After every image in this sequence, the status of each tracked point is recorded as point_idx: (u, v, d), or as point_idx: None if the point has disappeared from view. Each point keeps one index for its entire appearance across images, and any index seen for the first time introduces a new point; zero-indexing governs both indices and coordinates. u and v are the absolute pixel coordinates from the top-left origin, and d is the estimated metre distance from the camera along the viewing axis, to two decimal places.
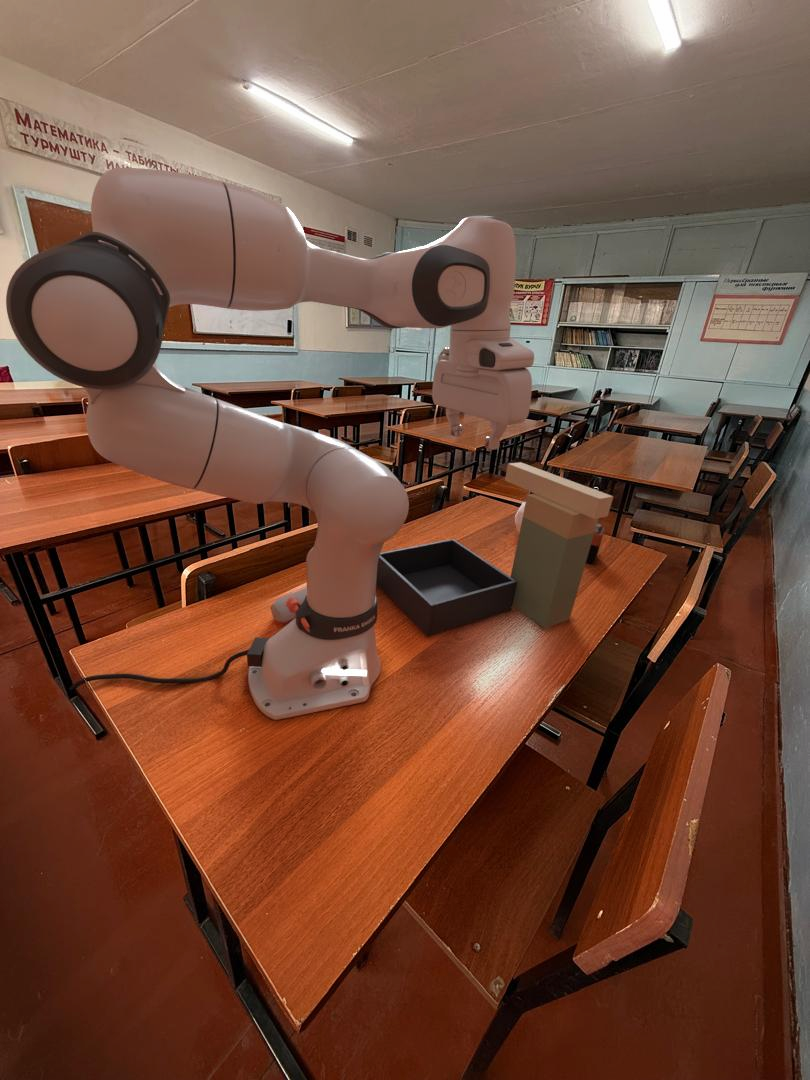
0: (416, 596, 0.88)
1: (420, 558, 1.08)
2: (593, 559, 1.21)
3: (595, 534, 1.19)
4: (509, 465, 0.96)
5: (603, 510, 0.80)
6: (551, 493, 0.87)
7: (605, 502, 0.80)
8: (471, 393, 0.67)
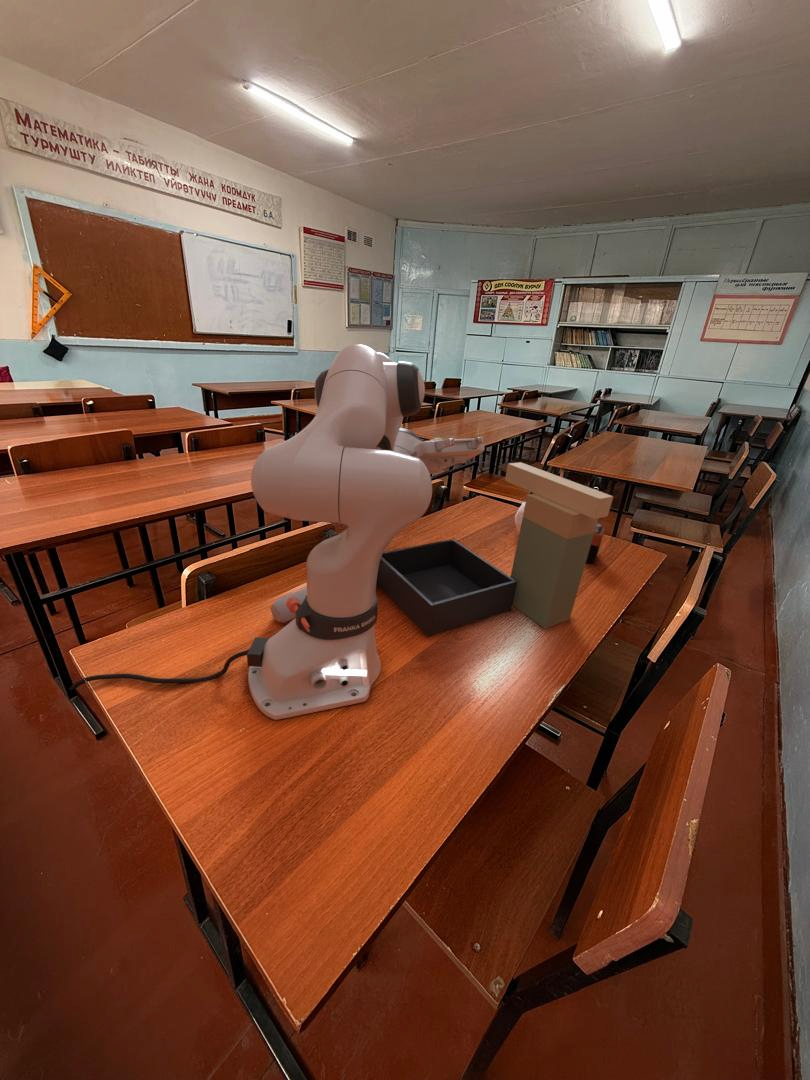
0: (416, 596, 0.88)
1: (420, 558, 1.08)
2: (593, 559, 1.21)
3: (595, 534, 1.19)
4: (509, 465, 0.96)
5: (603, 510, 0.80)
6: (551, 493, 0.87)
7: (605, 502, 0.80)
8: None
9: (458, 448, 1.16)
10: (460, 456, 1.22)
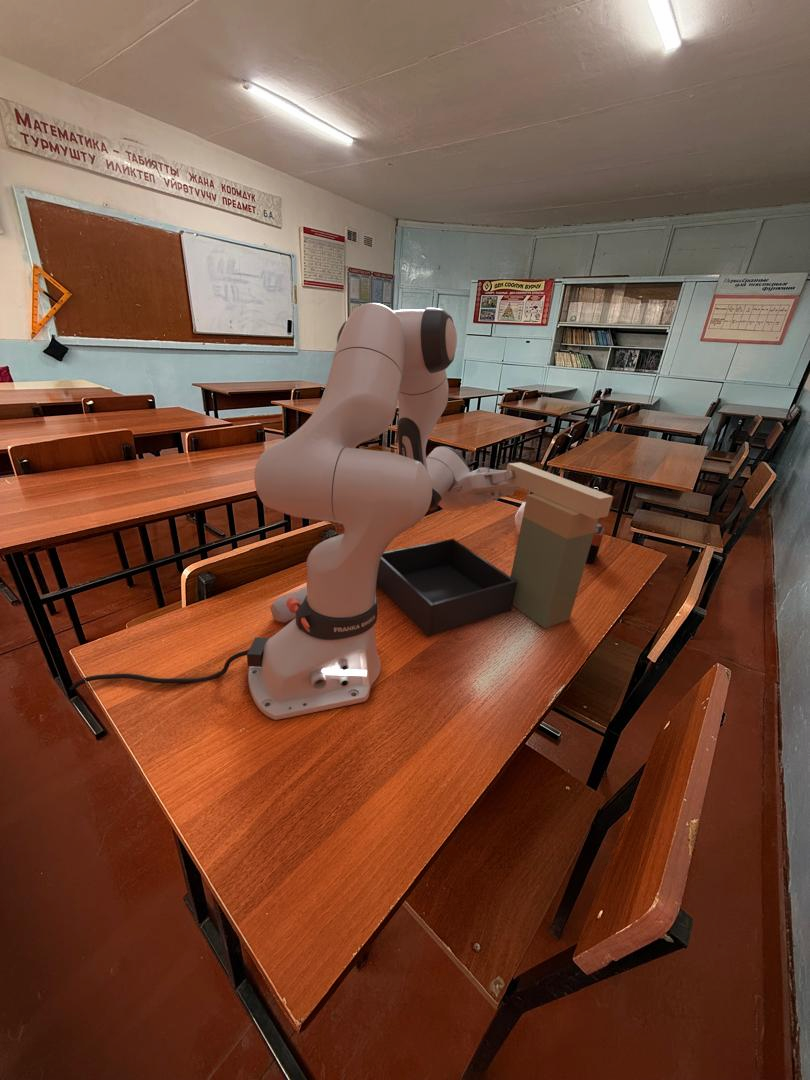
0: (416, 596, 0.88)
1: (420, 558, 1.08)
2: (593, 559, 1.21)
3: (595, 534, 1.19)
4: (509, 465, 0.96)
5: (603, 510, 0.80)
6: (551, 493, 0.87)
7: (605, 502, 0.80)
8: None
9: None
10: (508, 488, 1.07)
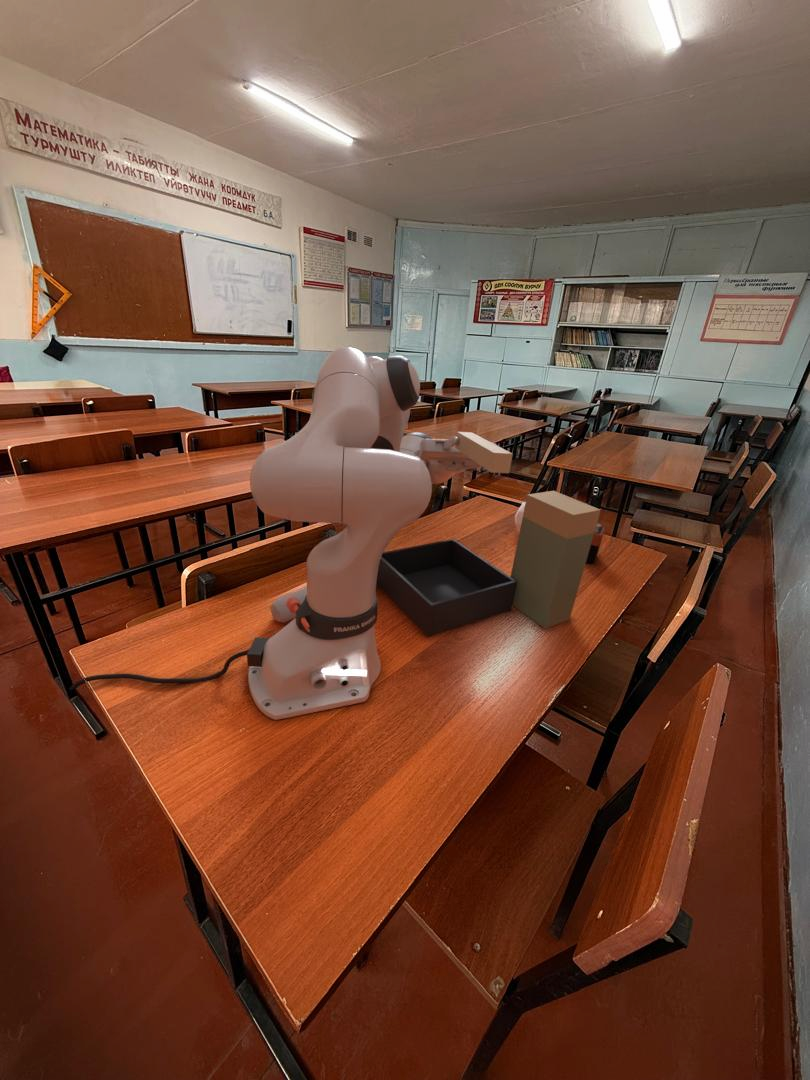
0: (416, 596, 0.88)
1: (420, 558, 1.08)
2: (593, 559, 1.21)
3: (595, 534, 1.19)
4: (457, 433, 1.06)
5: (501, 465, 0.87)
6: (473, 453, 0.96)
7: (503, 458, 0.86)
8: None
9: None
10: (472, 460, 1.16)
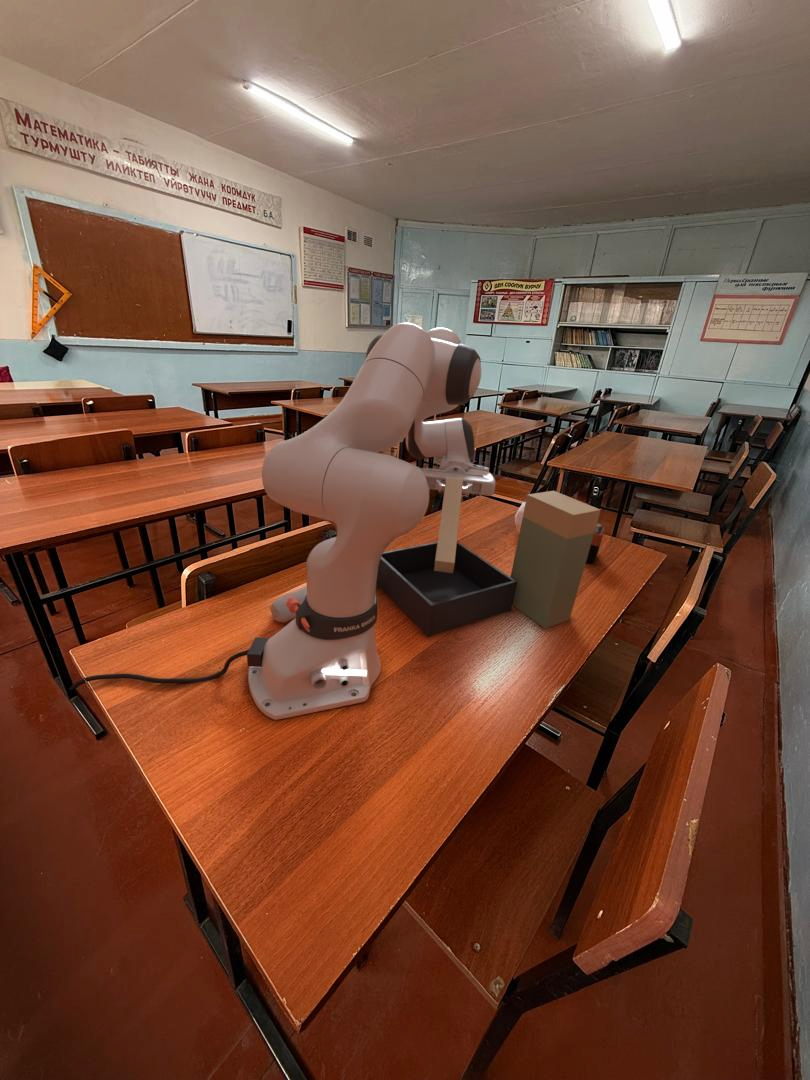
0: (416, 596, 0.88)
1: (420, 558, 1.08)
2: (593, 559, 1.21)
3: (595, 534, 1.19)
4: None
5: (444, 568, 0.91)
6: None
7: (445, 564, 0.90)
8: (459, 475, 1.09)
9: None
10: None
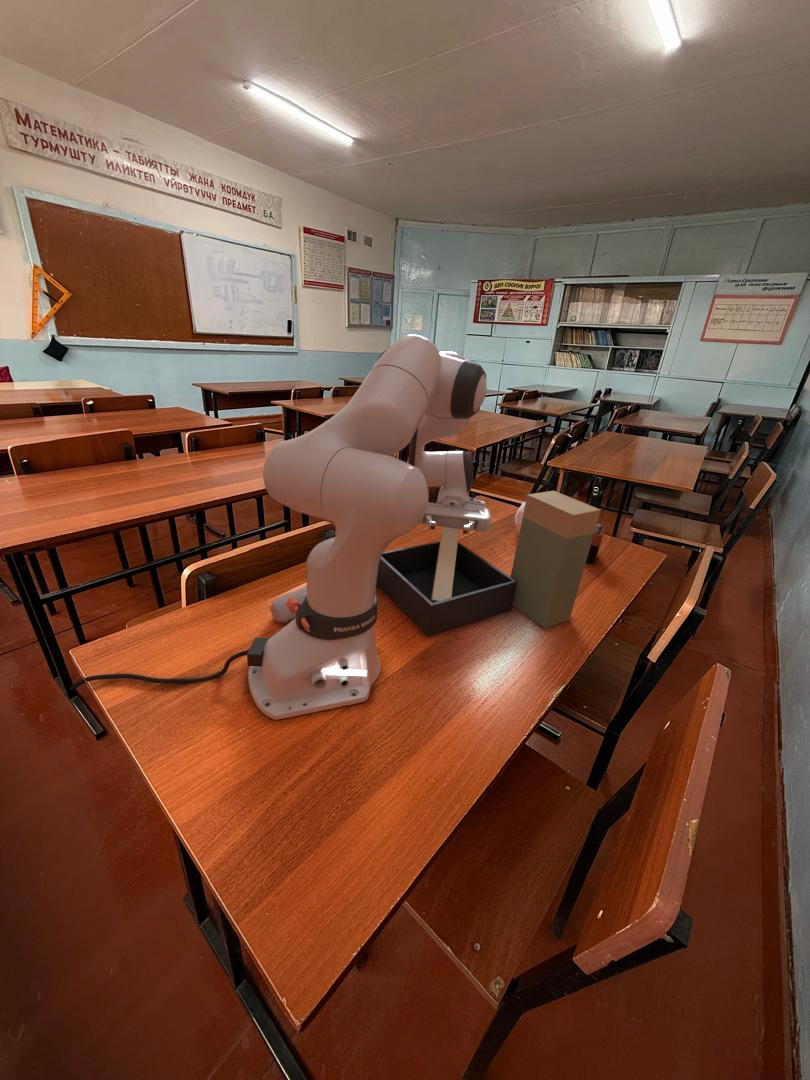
0: (416, 596, 0.88)
1: (420, 558, 1.08)
2: (593, 559, 1.21)
3: (595, 534, 1.19)
4: (443, 528, 1.08)
5: None
6: (435, 571, 1.00)
7: None
8: (456, 510, 1.10)
9: (454, 523, 1.09)
10: None
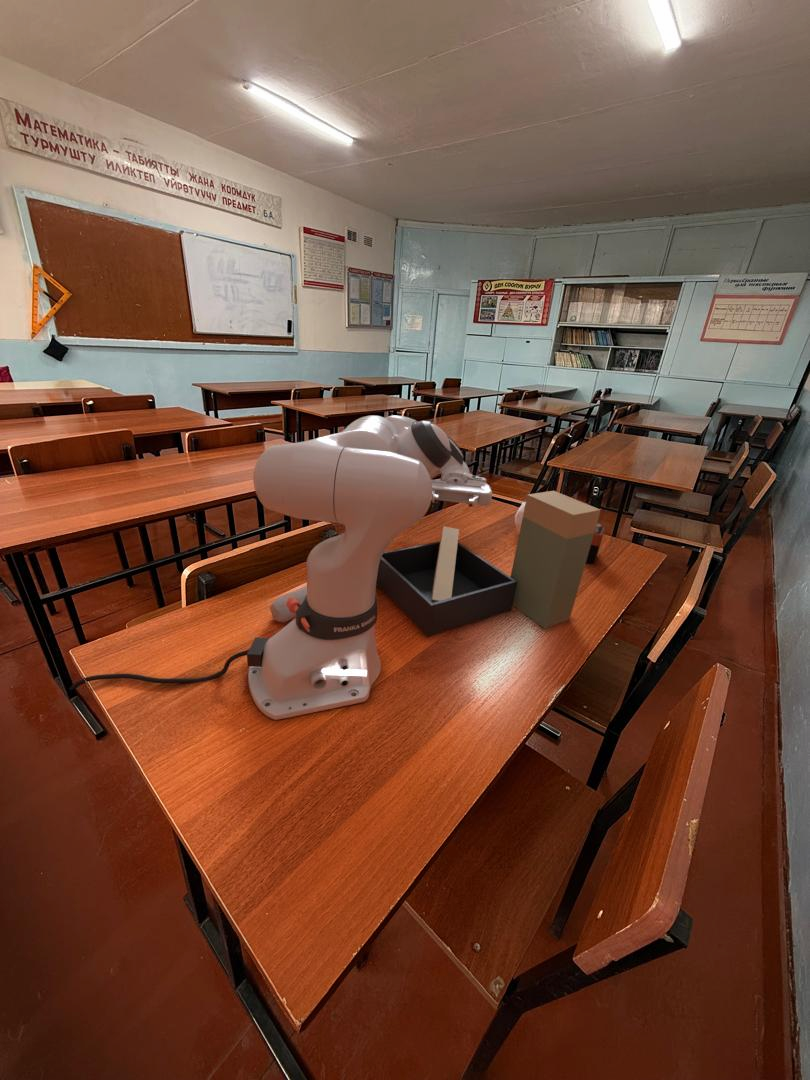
0: (416, 596, 0.88)
1: (420, 558, 1.08)
2: (593, 559, 1.21)
3: (595, 534, 1.19)
4: (443, 528, 1.08)
5: None
6: (435, 571, 1.00)
7: None
8: (459, 486, 1.19)
9: (457, 497, 1.18)
10: None
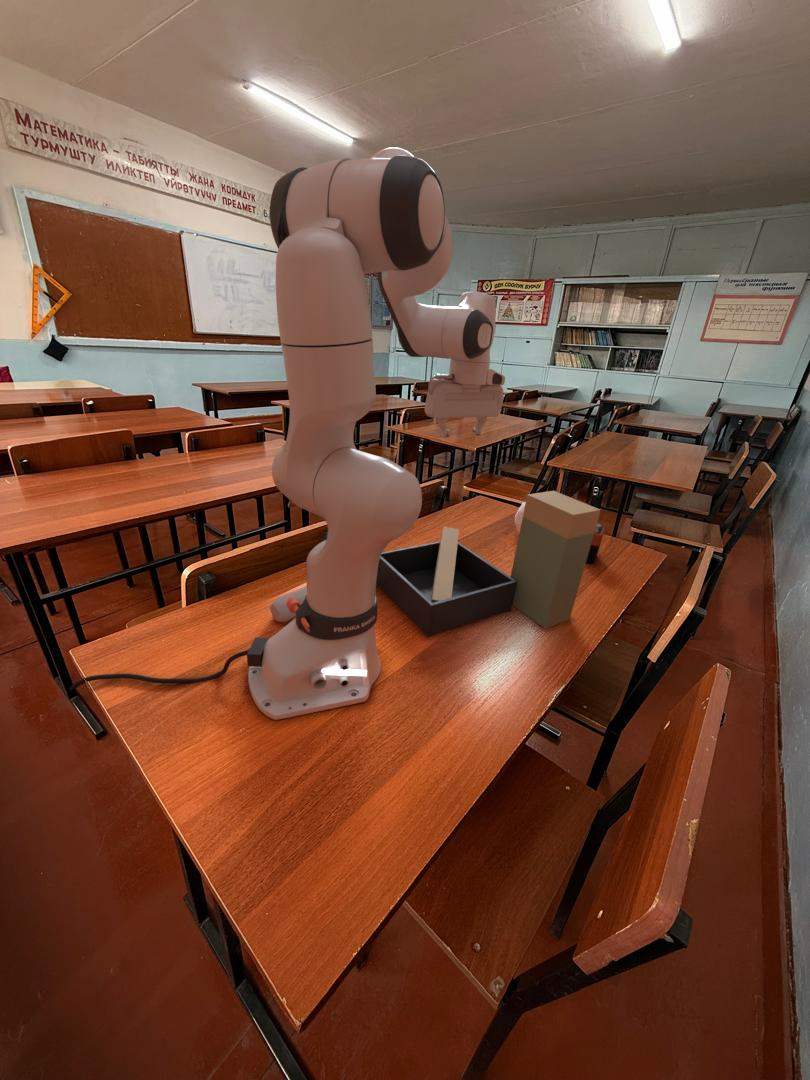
0: (416, 596, 0.88)
1: (420, 558, 1.08)
2: (593, 559, 1.21)
3: (595, 534, 1.19)
4: (443, 528, 1.08)
5: None
6: (435, 571, 1.00)
7: None
8: (473, 402, 1.00)
9: None
10: None
